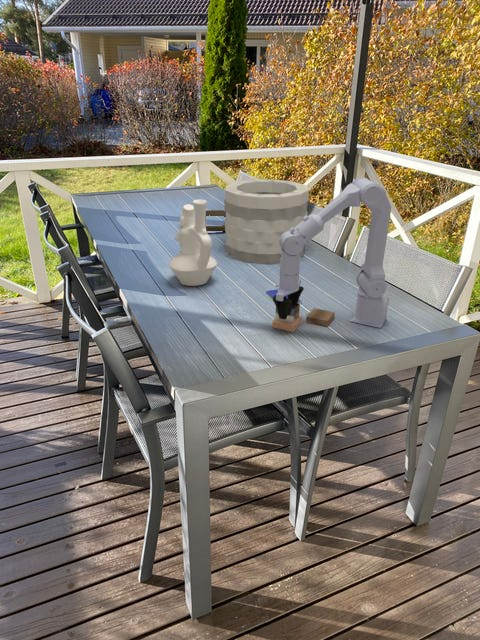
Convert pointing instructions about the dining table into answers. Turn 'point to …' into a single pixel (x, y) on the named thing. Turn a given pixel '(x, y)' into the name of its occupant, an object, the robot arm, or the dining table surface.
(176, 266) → the double spout vessel
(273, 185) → the storage basket
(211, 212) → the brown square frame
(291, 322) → the block
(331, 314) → the stand
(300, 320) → the stand
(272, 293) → the hard drive
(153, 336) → the dining table surface
